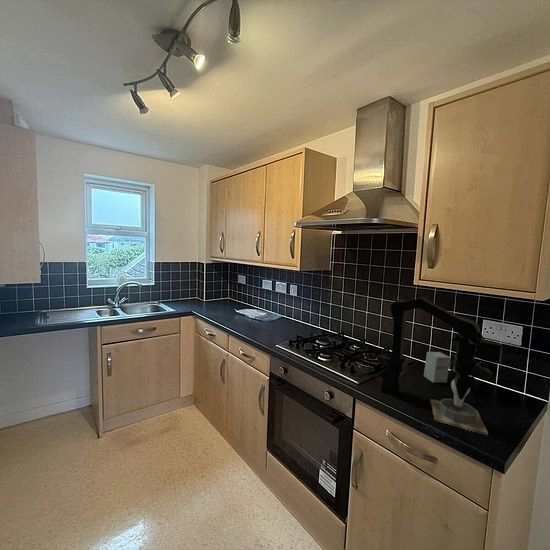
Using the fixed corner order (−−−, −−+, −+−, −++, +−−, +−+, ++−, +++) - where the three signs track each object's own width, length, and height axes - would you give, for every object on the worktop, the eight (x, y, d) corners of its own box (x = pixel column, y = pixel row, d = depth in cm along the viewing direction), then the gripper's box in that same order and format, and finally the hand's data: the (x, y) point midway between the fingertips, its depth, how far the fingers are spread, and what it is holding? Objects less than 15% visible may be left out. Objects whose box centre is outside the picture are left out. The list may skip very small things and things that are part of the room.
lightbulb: (468, 413, 107) (472, 384, 106) (448, 408, 110) (453, 379, 108) (465, 405, 113) (470, 377, 111) (447, 400, 115) (451, 373, 114)
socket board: (434, 422, 107) (436, 411, 107) (430, 401, 122) (431, 392, 121) (487, 436, 101) (489, 424, 101) (476, 412, 116) (478, 402, 115)
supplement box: (433, 383, 140) (436, 357, 139) (423, 376, 147) (426, 351, 146) (447, 383, 141) (450, 357, 140) (436, 376, 148) (439, 351, 147)
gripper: (499, 369, 97) (492, 414, 99) (484, 351, 114) (478, 390, 116) (460, 361, 102) (453, 404, 103) (451, 345, 119) (446, 383, 120)
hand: (459, 395), depth 111 cm, fingers closed on lightbulb, 6 cm apart
